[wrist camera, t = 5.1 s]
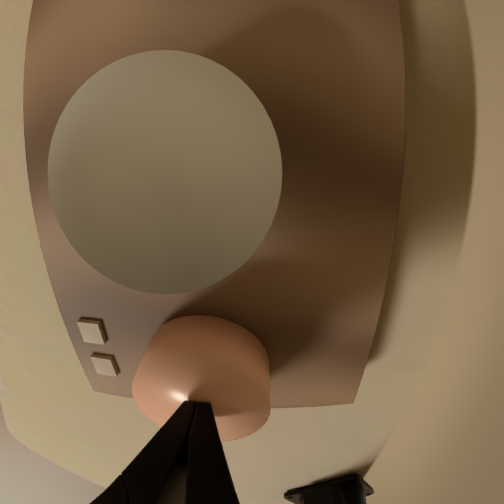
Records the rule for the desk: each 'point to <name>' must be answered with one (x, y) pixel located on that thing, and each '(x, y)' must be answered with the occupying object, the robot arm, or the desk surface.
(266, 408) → the terracotta button
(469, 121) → the desk surface
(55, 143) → the grey button
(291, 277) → the console
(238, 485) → the desk surface
